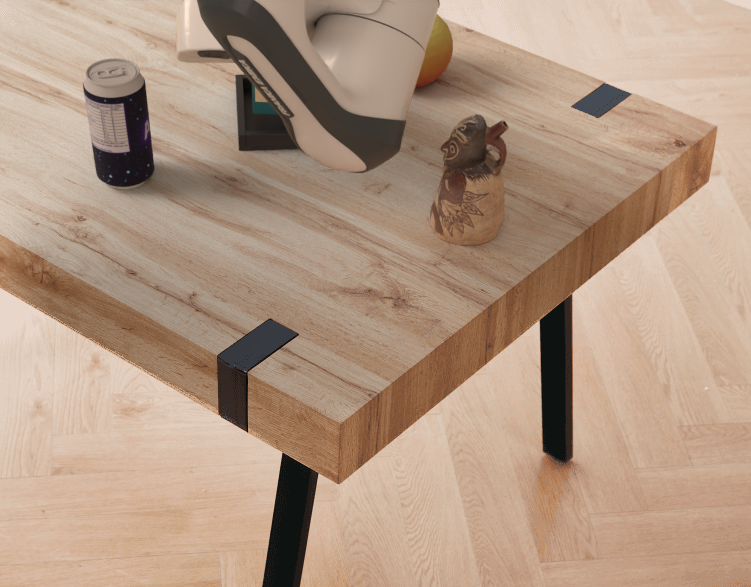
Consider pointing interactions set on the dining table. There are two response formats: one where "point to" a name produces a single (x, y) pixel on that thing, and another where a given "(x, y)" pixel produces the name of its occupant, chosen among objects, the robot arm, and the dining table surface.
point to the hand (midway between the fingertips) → (279, 59)
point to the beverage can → (119, 123)
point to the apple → (436, 53)
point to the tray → (258, 123)
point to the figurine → (471, 184)
